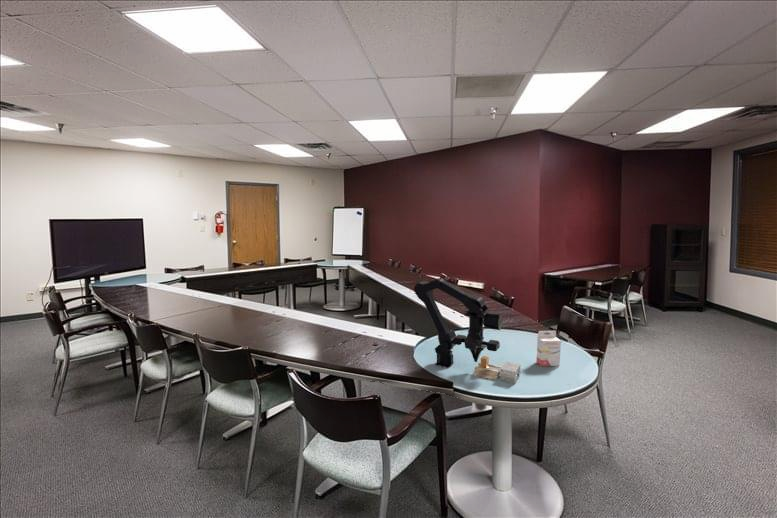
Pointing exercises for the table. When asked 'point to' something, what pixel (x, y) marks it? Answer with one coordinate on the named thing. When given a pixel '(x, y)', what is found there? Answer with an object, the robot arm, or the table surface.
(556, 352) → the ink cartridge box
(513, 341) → the table surface
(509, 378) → the block
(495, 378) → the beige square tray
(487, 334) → the table surface
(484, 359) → the lock bolt
